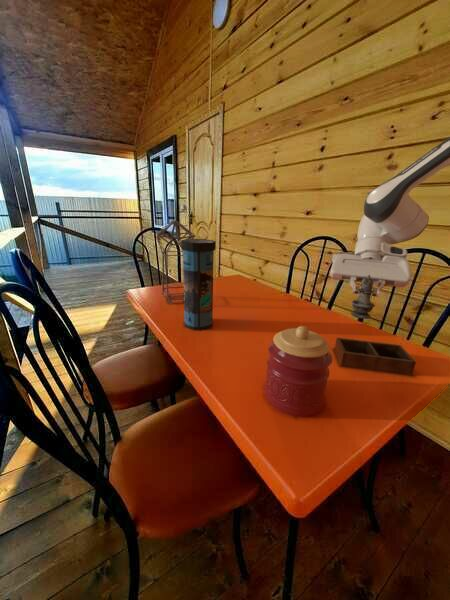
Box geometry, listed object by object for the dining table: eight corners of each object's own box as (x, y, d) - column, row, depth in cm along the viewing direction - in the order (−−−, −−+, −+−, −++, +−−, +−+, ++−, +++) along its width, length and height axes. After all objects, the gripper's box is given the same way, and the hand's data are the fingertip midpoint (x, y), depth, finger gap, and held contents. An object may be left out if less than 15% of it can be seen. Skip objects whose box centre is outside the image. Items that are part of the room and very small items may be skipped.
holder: (396, 358, 75) (400, 344, 73) (411, 377, 66) (416, 362, 65) (334, 350, 78) (336, 337, 76) (340, 367, 69) (343, 352, 68)
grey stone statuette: (375, 316, 73) (385, 275, 69) (365, 320, 70) (374, 278, 66) (356, 309, 78) (364, 271, 74) (345, 313, 75) (353, 273, 71)
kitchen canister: (280, 373, 66) (288, 310, 60) (331, 395, 58) (345, 326, 53) (252, 399, 57) (258, 327, 51) (309, 430, 49) (323, 350, 43)
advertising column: (191, 334, 85) (189, 243, 75) (178, 322, 94) (175, 239, 84) (219, 327, 90) (222, 242, 81) (205, 316, 99) (205, 238, 89)
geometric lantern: (196, 306, 110) (196, 222, 98) (159, 308, 107) (154, 221, 95) (192, 295, 125) (191, 220, 113) (159, 296, 121) (155, 219, 109)
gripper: (334, 245, 78) (326, 283, 72) (414, 250, 70) (412, 294, 64) (332, 257, 83) (325, 293, 78) (406, 264, 75) (404, 305, 70)
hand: (365, 294), depth 71 cm, fingers closed on grey stone statuette, 3 cm apart
